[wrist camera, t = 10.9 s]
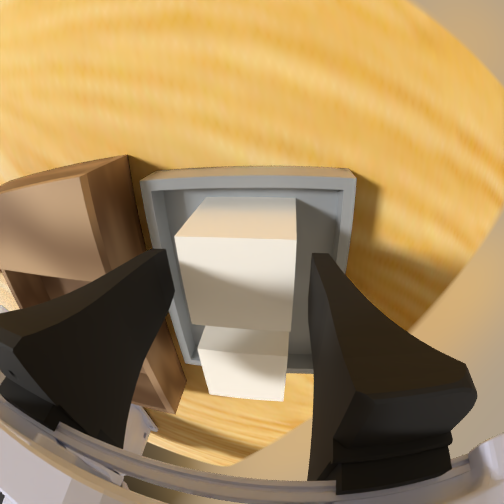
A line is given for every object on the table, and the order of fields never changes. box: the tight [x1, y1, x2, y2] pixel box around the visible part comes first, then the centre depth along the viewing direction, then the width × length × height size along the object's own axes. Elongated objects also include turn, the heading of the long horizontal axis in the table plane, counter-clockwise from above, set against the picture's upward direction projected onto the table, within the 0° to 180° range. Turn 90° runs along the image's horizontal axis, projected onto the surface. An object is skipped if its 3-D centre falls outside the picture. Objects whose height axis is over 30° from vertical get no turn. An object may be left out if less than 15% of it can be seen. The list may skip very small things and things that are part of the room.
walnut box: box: [0, 155, 187, 414], centre depth 16 cm, size 18×12×4 cm, turn 2°
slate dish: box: [140, 166, 357, 374], centre depth 14 cm, size 12×9×2 cm
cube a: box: [197, 326, 289, 401], centre depth 14 cm, size 4×4×4 cm
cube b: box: [174, 197, 297, 332], centre depth 12 cm, size 4×4×4 cm
